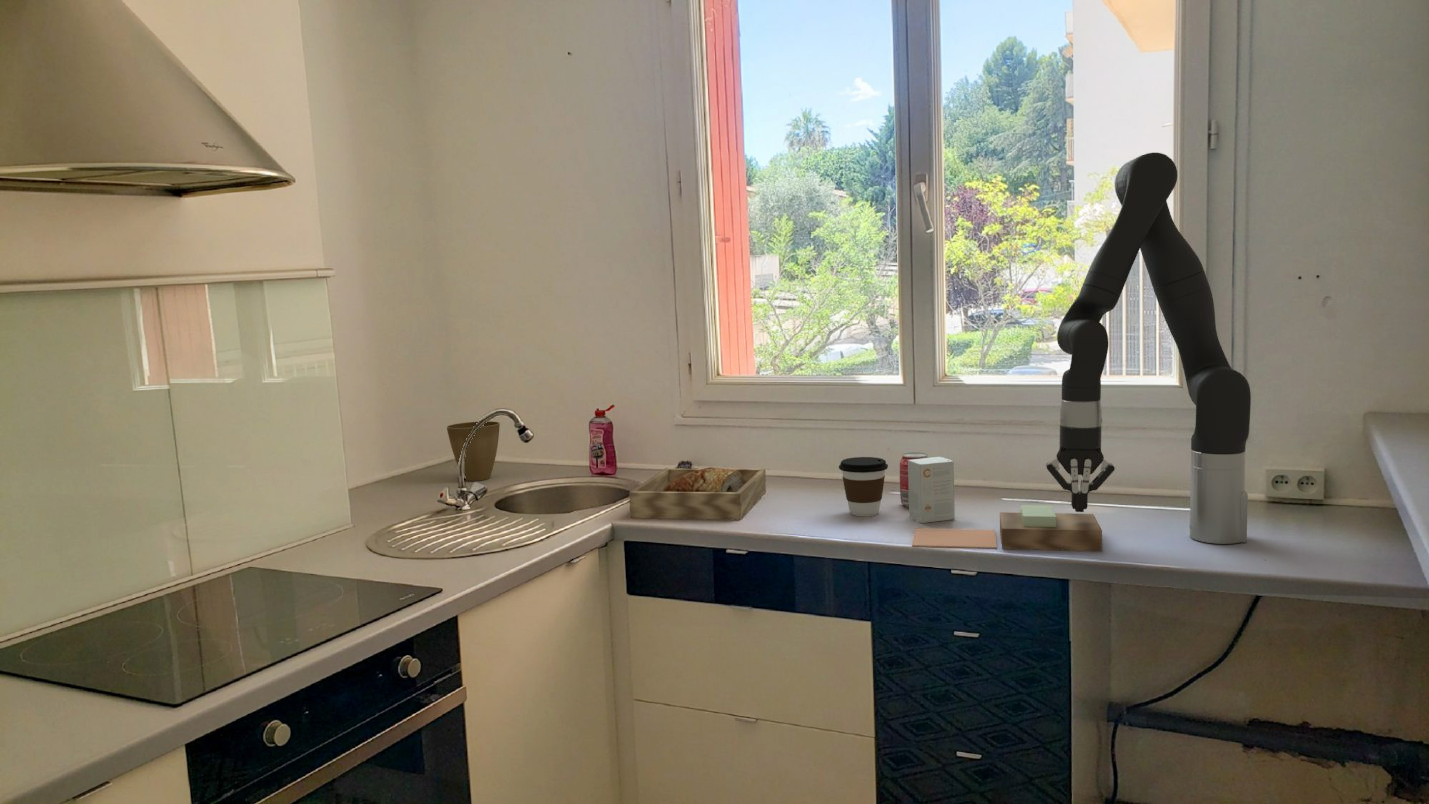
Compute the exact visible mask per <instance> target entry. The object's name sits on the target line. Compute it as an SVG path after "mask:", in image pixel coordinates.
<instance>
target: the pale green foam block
mask: <svg viewBox="0 0 1429 804" xmlns="http://www.w3.org/2000/svg"><path fill="white" fill-rule="evenodd" d="M1020 513H1021V519H1022V523H1023V526H1033V527H1056V515H1055V513H1056V512H1055V510H1054V508H1053V505H1030V504H1029V505H1027V504H1026V505H1024V504H1023V505H1020Z"/></svg>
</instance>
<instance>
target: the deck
mask: <svg viewBox="0 0 1429 804" xmlns="http://www.w3.org/2000/svg"><path fill="white" fill-rule="evenodd" d="M1054 513H1055V515H1056V527H1033V526H1023V523H1022V519H1021V512H1007V511H1006V512H1001V511H1000V512H999V535H1000V543H1001V548H1002V550H1030V549H1039V550H1040V549H1041V551H1071V550H1074V551H1073V552H1075V551H1076V550H1077V551H1078V550H1079V551H1078V552H1081V550H1082V552H1083V551H1084V552H1103V530H1102V527H1101V525H1100V524H1099V523H1098V522H1099V521H1098V520H1097V518H1096V515H1095V514H1094V513H1063V512H1061V513H1060V512H1054Z"/></svg>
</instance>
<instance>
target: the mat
mask: <svg viewBox="0 0 1429 804" xmlns="http://www.w3.org/2000/svg"><path fill="white" fill-rule="evenodd" d="M912 539H913V540H912V544H911V547H912V548H913V547H914V548H915V547H916V548H948V549H949V548H951V549H952V548H953V549H955V548H957V549H994V550H995V549H996V550H997V537H996V530H995V529H970V528H969V529H965V528H963V529H961V528H915V529H914V534H913V538H912Z"/></svg>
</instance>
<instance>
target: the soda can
mask: <svg viewBox="0 0 1429 804" xmlns="http://www.w3.org/2000/svg"><path fill="white" fill-rule="evenodd" d="M922 458H929V457H928V453H926V452H919V451H918V452H914V451H913V452H911V451H910V452H905V453H902V457H901V459H900V460H899V498H900V503H901V504H902V505H903V506H904V507H906V508H909V485H908V460H912V459H922Z"/></svg>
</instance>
